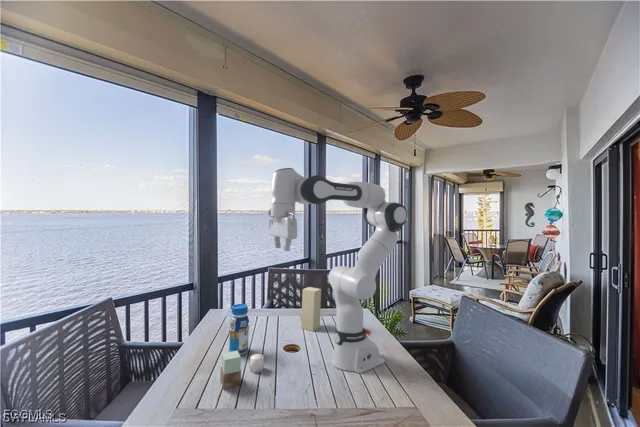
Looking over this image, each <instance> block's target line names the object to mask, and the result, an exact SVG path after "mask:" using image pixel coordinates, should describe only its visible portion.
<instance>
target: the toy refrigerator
mask: <svg viewBox="0 0 640 427" xmlns="http://www.w3.org/2000/svg"><path fill="white" fill-rule="evenodd" d="M321 301H322V289H321V288H317V287H313V286H307V287H305V288H303V289H302V299H301V317H300V318H301V319H300V320H301V321H300V322H301V323H300V326H301V327H300V328H301V329H302V330H306V331H309V332H315V331H317V330H319V329H320V327H321V326H320V325H321V304H322V302H321Z"/></svg>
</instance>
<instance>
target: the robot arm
mask: <svg viewBox="0 0 640 427" xmlns="http://www.w3.org/2000/svg"><path fill="white" fill-rule="evenodd" d="M271 182H272V183H271V196H272V199H271V202H270V203H271V204H270V208H269V209H268V211H267V216H268V217H269V218H268V230H269V235H270V236H273V240H274V247H275V248H276V249H280V248H281V245H282V244H281V241H280V239H281V238H282V239H284V246H283V251H284V252H289V251H291V250H290V249H291V244H292V240H296V239H297V237H298V220H297V218H296V203H297V204H300V205H301V204H302V205H311V204H312V205H320V204H324V203H326V202H328V201H331V200H333V201H343V203H344V204H345V205H346V206H348V207H352V208H356V209H357V208H358V209H362V210H363V214H362V215H363V220H364V222H365V223H366V224H367V225H369V226H372V227H375V230H374V232H373V234H372V235H371V236H370V237H369V239H367V241H366V242H365V243H364V244H363V245H362V247H361V248H360V249H359V250H358V252H357V261H356V264H355V265H354V266H353V267H349V266H346V265H337V266H335V267H332V268H331V270H330V271H329V273H328V283H329V284H330V286H331V288H332V289H331V290H332V293H333V296H334V302H335V308H336V315H335V316H336V319H335V320H336V324H335V325H336V326H335V327H334V328H335V330H334V348H333V354H332V357H331V361H330V362H331V364H332V365H333V366H334V367H335V368H338V369H340V370H341V371H343V370H344V371H348V372H349V371H350V372H354V373H357V374H362V373H366V372H367V371H370V370H373V368H376V367H378V366H381V365H383V364H385V361H386V360H385V358H384V357H383V356H382V354H380V352H379V347H378V345H377V344H376V343H375V342H374V341H373V340H371V339H370V338H369V337H368V336H371V334H372V331H371V330H370V329H368V328H365V327H364V309H363V306H362V305H361V303H360V300H361V301H362V300H363V301H365V300H366V301H367V300H369V299H371V298H373V296H374V295H375V293H376V290H377V284H376V277H377V275H378V274H377V273H378V271H379V269H380V268H381V267H382V265H383V263H384V262H385V261H386V259H387V258H388V257H389V256H390V255H391V253H392V252H393V250H394V249H395V247H396V245H397V243H398V241H399V234H398V232H399V231H401V230H402V229H403V226H404V225H405V224H406V222H407V218H408V210H407V208H406V206H405V205H403V204H401V203H400V202H396V201H395V202H393V201H392V202H390V201H389V202H387V201H386V191H385V188H383V187H382V186H381V185H379V184H375V183H372V182H367V181H349V182H346V183H342V182H333V181H330V180H328V179H327V178H326V177H323V176H322V175H319V174H318V175H312V176H309V177H306V176H303V175H301V174H299V173H298V172H297V171H296V170H295V168H292V167H285V168H283V167H282V168H280V169H277V170H275V171H274V172H273V175H272V181H271Z"/></svg>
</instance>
